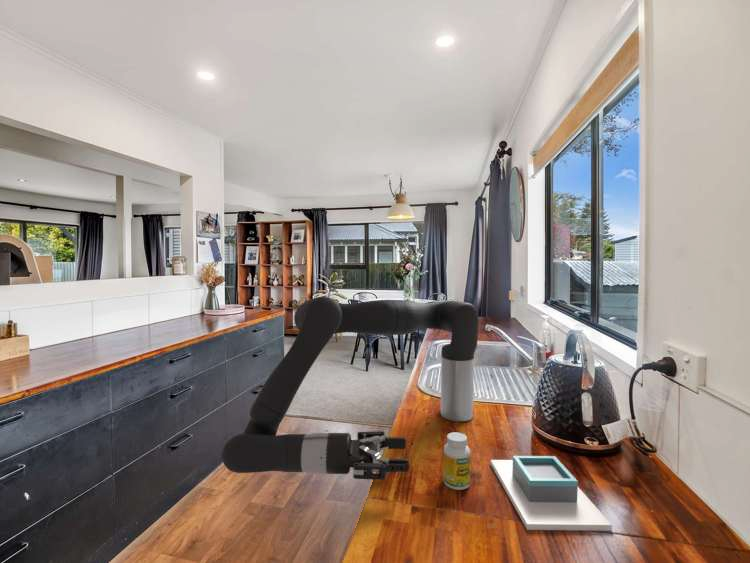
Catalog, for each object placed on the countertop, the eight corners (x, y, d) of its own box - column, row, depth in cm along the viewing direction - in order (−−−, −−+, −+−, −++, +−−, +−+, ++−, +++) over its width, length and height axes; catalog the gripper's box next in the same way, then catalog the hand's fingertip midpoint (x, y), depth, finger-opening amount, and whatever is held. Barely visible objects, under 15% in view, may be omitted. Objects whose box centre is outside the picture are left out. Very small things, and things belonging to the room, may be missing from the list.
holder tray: (490, 464, 81) (491, 442, 81) (554, 464, 81) (554, 442, 81) (527, 529, 61) (527, 500, 61) (611, 530, 61) (612, 501, 61)
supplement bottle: (456, 472, 78) (457, 428, 78) (476, 485, 74) (476, 438, 73) (437, 480, 75) (438, 434, 75) (456, 494, 71) (457, 445, 70)
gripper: (321, 453, 67) (410, 453, 67) (331, 419, 81) (404, 420, 81) (321, 493, 68) (410, 493, 67) (331, 452, 82) (404, 453, 82)
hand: (407, 453), depth 74 cm, fingers open, 8 cm apart
